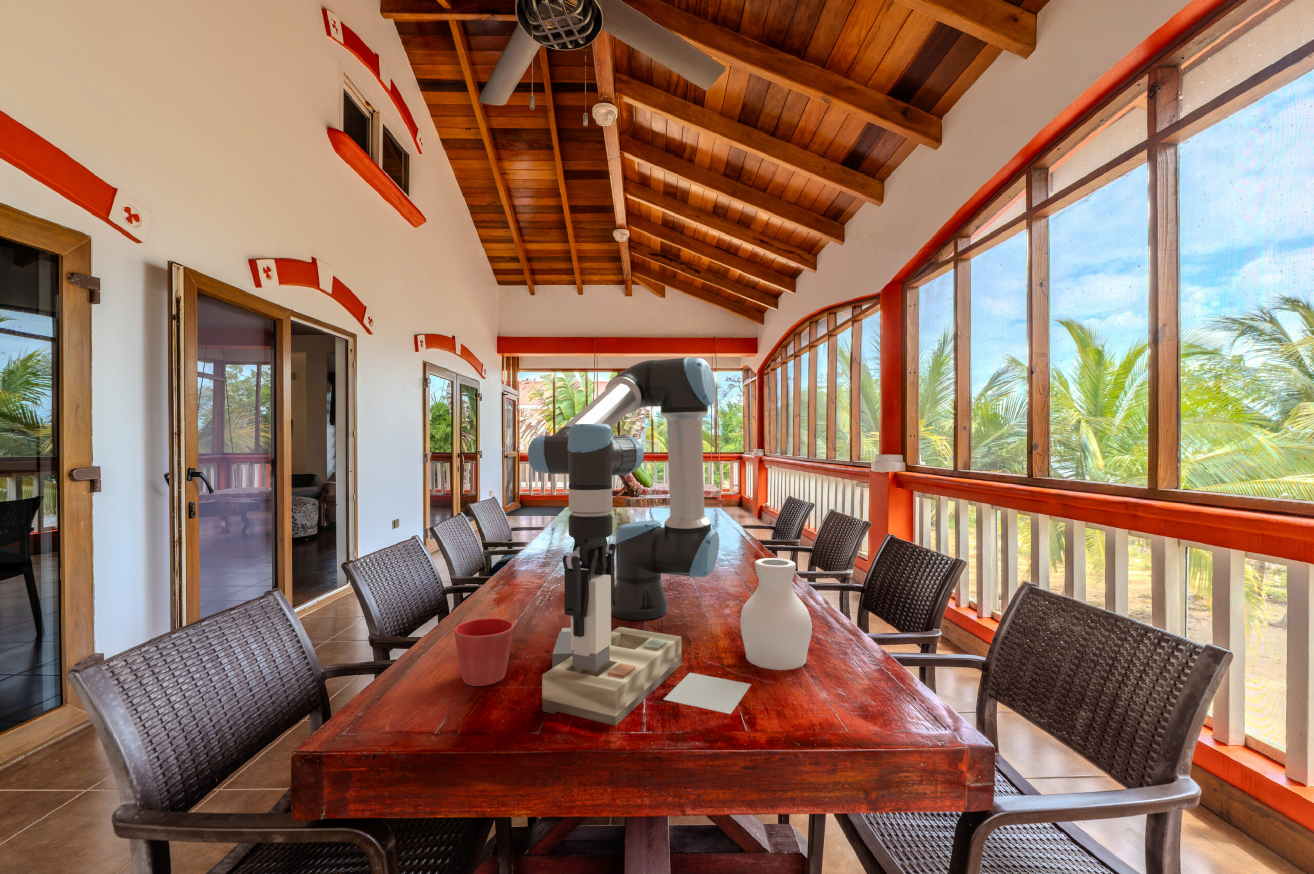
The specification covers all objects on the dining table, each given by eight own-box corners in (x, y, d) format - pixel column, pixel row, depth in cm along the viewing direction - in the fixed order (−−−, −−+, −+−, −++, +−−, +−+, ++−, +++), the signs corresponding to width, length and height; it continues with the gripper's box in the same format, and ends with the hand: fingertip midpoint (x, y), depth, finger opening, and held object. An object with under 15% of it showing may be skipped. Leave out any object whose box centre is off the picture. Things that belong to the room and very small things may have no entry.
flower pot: (495, 661, 114) (495, 613, 114) (524, 677, 106) (524, 626, 106) (444, 677, 107) (444, 626, 107) (471, 696, 99) (471, 640, 99)
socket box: (619, 655, 117) (619, 624, 117) (681, 667, 111) (681, 634, 111) (542, 710, 93) (542, 671, 93) (615, 729, 87) (615, 687, 87)
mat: (689, 675, 107) (689, 672, 107) (751, 687, 102) (751, 684, 102) (663, 702, 96) (663, 699, 96) (730, 717, 91) (730, 713, 91)
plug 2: (586, 656, 100) (586, 572, 100) (611, 661, 98) (610, 575, 98) (570, 667, 96) (570, 578, 96) (595, 672, 93) (595, 581, 93)
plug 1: (561, 650, 120) (561, 626, 120) (584, 649, 121) (584, 626, 121) (552, 680, 105) (552, 653, 105) (579, 679, 106) (579, 653, 106)
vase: (726, 661, 113) (725, 562, 113) (764, 642, 124) (763, 551, 124) (789, 682, 104) (788, 573, 104) (825, 659, 114) (824, 561, 114)
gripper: (599, 506, 107) (599, 629, 106) (540, 518, 90) (540, 663, 90) (634, 508, 103) (634, 635, 103) (579, 521, 87) (580, 672, 87)
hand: (591, 648), depth 97 cm, fingers closed on plug 2, 5 cm apart
